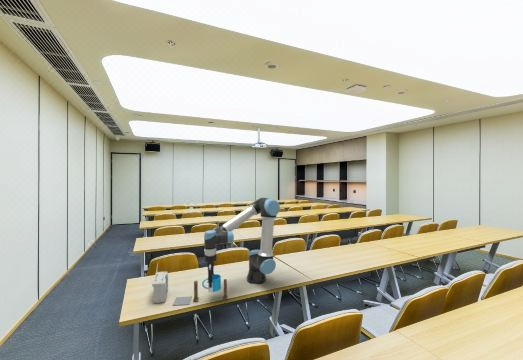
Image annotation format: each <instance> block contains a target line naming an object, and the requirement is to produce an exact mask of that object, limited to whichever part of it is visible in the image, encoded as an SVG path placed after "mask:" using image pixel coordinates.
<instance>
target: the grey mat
mask: <svg viewBox="0 0 523 360" xmlns="http://www.w3.org/2000/svg"><path fill="white" fill-rule="evenodd" d="M191 300H192V296H177V297H175V299H174V301H173V304H172V306H173V307H174V306H190V304H191Z"/></svg>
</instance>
